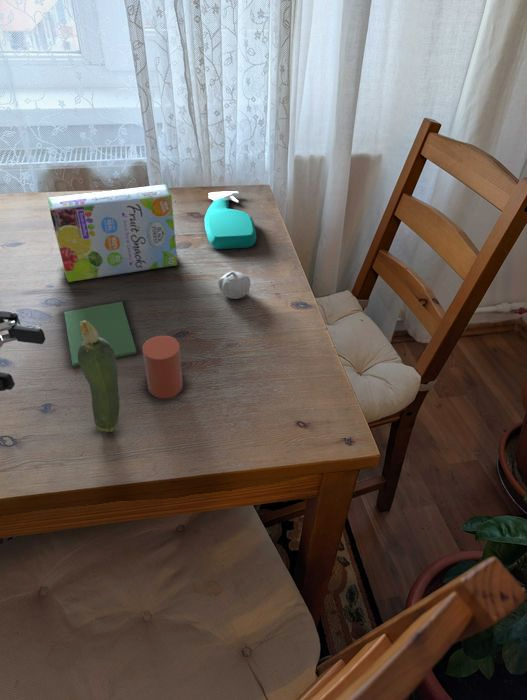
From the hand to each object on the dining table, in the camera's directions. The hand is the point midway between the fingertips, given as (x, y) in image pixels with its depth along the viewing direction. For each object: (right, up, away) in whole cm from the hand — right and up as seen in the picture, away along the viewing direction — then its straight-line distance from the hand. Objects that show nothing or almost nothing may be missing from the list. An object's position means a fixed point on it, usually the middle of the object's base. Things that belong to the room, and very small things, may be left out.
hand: (28, 358), depth 66 cm
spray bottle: (+22, +30, +53) cm, 65 cm away
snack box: (+2, +17, +37) cm, 41 cm away
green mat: (+2, +4, +22) cm, 23 cm away
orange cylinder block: (+15, -4, +14) cm, 21 cm away
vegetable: (+9, -10, +7) cm, 15 cm away
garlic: (+24, +11, +32) cm, 42 cm away
